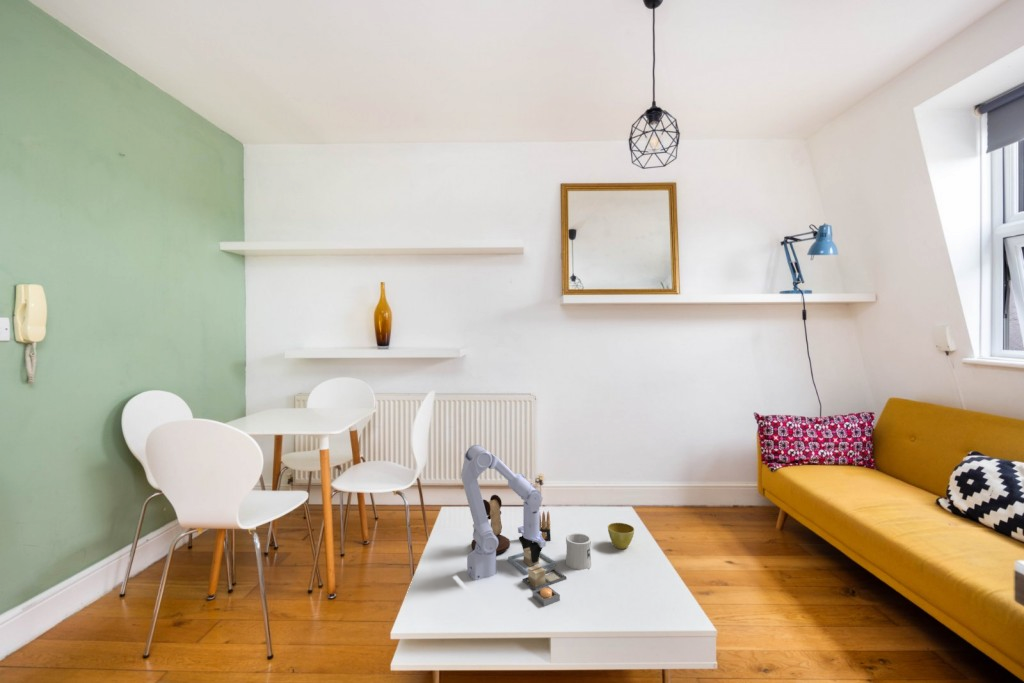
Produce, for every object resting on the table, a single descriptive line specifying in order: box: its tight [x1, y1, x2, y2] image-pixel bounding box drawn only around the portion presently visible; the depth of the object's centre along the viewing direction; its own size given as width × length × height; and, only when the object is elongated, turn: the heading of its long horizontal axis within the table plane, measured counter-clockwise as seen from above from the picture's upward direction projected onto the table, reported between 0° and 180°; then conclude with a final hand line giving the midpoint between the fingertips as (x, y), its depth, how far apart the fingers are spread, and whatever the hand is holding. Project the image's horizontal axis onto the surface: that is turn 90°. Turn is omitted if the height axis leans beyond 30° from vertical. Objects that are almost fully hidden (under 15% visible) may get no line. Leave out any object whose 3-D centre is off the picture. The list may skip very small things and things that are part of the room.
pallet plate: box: [522, 568, 567, 591], centre depth 153 cm, size 14×9×2 cm, turn 122°
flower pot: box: [607, 522, 635, 550], centre depth 180 cm, size 10×10×7 cm
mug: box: [565, 532, 592, 571], centre depth 166 cm, size 12×9×10 cm
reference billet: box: [527, 564, 546, 587], centre depth 151 cm, size 4×4×5 cm
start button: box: [540, 588, 552, 599], centre depth 142 cm, size 4×4×3 cm
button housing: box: [531, 585, 561, 608], centre depth 142 cm, size 6×6×3 cm
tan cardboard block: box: [523, 548, 540, 567], centre depth 164 cm, size 4×4×5 cm
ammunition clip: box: [539, 510, 552, 542], centre depth 184 cm, size 11×2×12 cm, turn 90°
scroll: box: [470, 494, 511, 555], centre depth 177 cm, size 15×15×20 cm
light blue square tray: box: [507, 551, 557, 576], centre depth 165 cm, size 12×12×2 cm
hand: (531, 559), depth 164 cm, fingers closed on tan cardboard block, 4 cm apart
